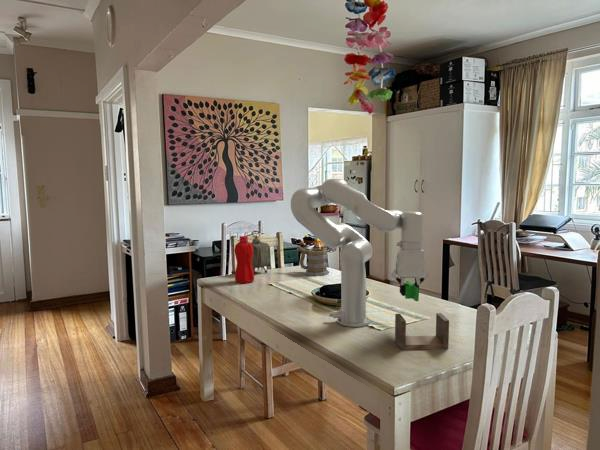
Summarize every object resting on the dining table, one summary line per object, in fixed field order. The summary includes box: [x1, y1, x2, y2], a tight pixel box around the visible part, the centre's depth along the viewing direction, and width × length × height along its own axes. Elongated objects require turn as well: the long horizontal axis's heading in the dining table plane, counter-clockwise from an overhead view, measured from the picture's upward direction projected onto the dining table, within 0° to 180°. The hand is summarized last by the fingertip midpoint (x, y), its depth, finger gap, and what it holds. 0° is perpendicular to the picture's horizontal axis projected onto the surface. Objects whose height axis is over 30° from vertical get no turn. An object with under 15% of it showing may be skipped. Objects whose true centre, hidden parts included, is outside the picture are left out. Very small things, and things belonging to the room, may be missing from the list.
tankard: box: [296, 246, 330, 277], centre depth 262 cm, size 20×13×15 cm, turn 58°
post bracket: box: [394, 312, 450, 350], centre depth 150 cm, size 16×8×10 cm, turn 91°
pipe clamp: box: [404, 280, 420, 302], centre depth 163 cm, size 11×4×5 cm, turn 4°
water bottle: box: [233, 235, 255, 284], centre depth 240 cm, size 9×11×25 cm
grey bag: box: [250, 230, 271, 274], centre depth 264 cm, size 14×9×25 cm, turn 49°
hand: (409, 294), depth 163 cm, fingers closed on pipe clamp, 3 cm apart
